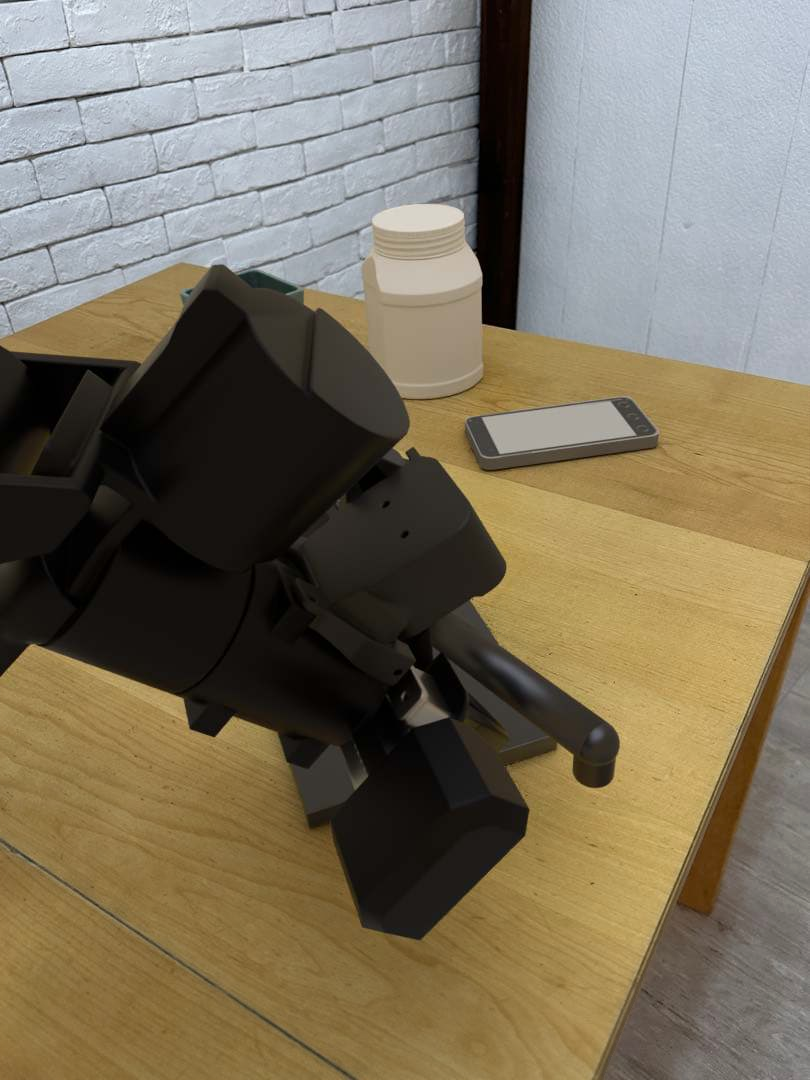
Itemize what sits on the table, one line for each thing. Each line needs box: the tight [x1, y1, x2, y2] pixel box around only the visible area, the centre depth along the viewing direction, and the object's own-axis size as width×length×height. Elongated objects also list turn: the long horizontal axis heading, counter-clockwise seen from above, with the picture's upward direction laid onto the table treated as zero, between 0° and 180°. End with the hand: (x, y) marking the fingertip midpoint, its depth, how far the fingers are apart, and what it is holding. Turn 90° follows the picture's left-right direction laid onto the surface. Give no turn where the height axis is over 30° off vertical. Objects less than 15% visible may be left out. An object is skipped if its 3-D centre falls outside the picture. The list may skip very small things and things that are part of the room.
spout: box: [430, 611, 621, 789], centre depth 44 cm, size 18×4×3 cm, turn 39°
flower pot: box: [178, 268, 305, 306], centre depth 88 cm, size 9×9×9 cm
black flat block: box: [288, 599, 558, 829], centre depth 51 cm, size 14×14×7 cm
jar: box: [360, 203, 484, 400], centre depth 84 cm, size 12×10×15 cm
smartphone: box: [464, 395, 660, 471], centre depth 76 cm, size 7×1×15 cm
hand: (500, 741), depth 40 cm, fingers closed
